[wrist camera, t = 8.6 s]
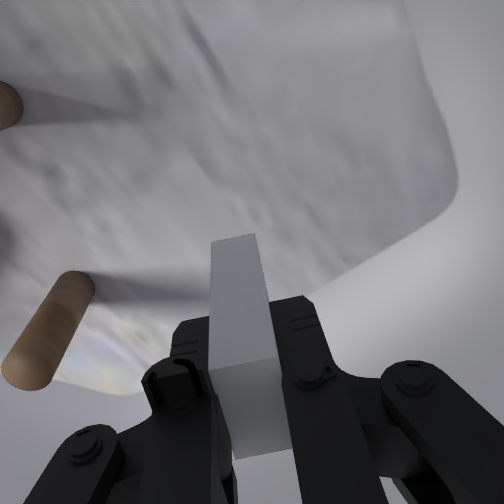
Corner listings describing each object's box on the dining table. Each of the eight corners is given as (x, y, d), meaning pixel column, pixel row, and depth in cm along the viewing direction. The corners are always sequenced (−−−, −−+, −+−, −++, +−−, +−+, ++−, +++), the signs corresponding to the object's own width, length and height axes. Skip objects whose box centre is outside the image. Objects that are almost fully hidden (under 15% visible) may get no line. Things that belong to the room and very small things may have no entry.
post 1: (64, 306, 34) (13, 394, 25) (51, 275, 32) (-8, 356, 24) (100, 299, 33) (60, 385, 25) (87, 267, 32) (41, 347, 24)
